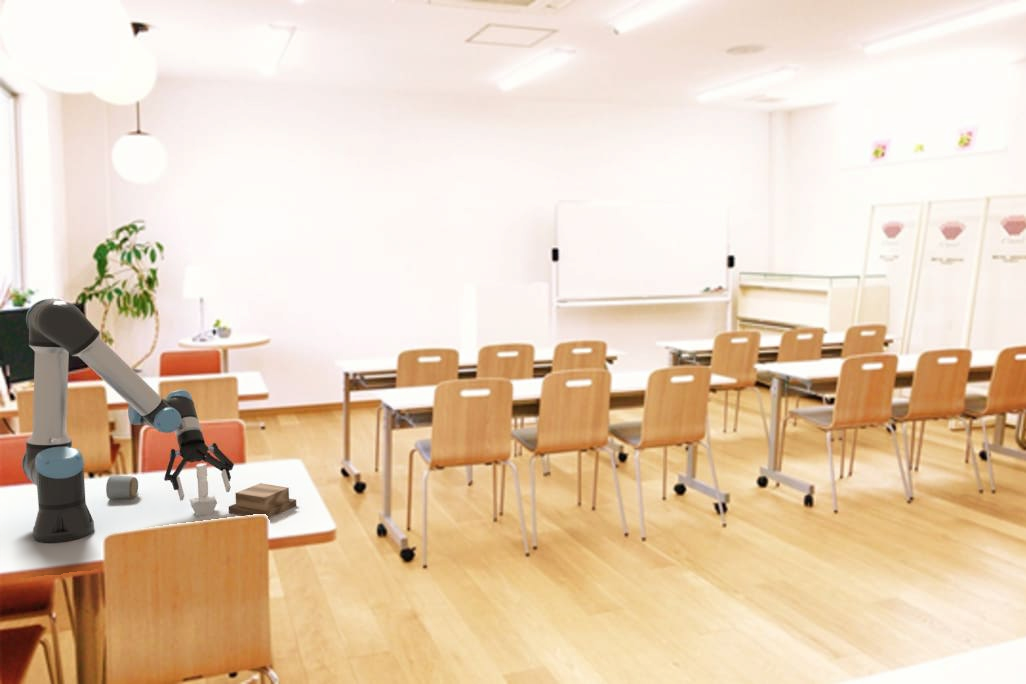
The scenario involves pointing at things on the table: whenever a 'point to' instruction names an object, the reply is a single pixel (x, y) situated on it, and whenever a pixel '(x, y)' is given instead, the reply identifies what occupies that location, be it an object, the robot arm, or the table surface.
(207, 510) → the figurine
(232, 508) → the walnut plinth
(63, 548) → the table surface
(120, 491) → the ceramic mug
